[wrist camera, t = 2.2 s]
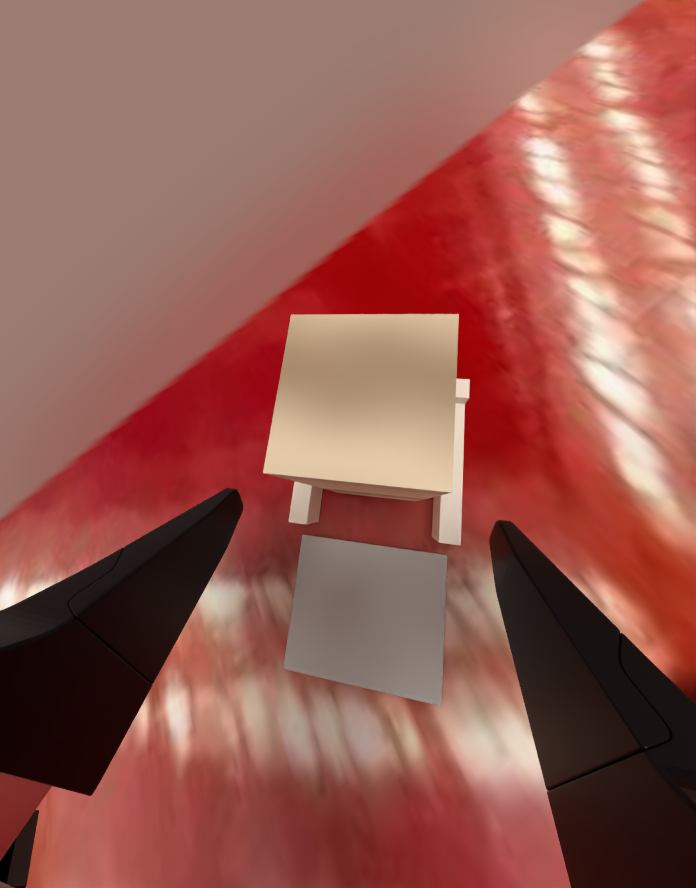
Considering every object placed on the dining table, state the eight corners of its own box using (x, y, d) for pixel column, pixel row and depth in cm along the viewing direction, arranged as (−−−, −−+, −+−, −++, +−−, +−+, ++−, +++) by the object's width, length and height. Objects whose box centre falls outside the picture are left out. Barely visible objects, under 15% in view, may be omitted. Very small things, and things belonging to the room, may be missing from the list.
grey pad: (440, 702, 17) (441, 706, 16) (285, 666, 18) (283, 669, 18) (446, 554, 18) (447, 555, 18) (303, 534, 20) (302, 534, 20)
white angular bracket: (450, 539, 19) (465, 548, 15) (303, 519, 20) (282, 522, 16) (454, 403, 21) (469, 379, 17) (320, 396, 22) (305, 373, 18)
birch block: (414, 501, 19) (452, 492, 7) (338, 492, 20) (263, 472, 8) (419, 426, 21) (458, 313, 9) (347, 422, 22) (291, 314, 9)
